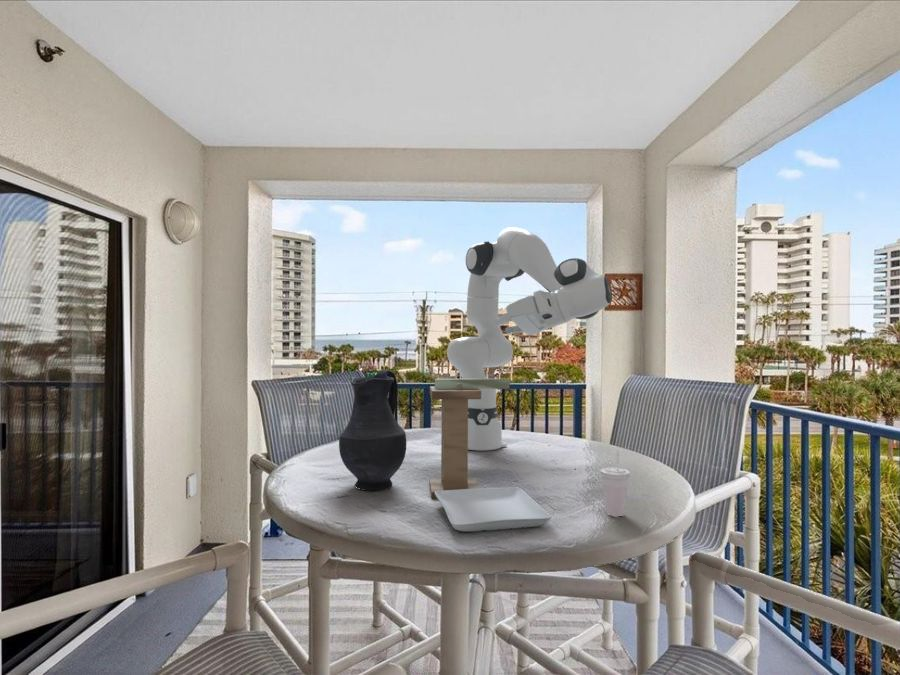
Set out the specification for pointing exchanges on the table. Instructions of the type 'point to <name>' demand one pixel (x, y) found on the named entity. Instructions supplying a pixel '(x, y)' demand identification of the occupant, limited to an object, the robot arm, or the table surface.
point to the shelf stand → (454, 439)
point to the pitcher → (373, 432)
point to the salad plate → (491, 509)
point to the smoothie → (615, 488)
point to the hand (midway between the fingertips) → (501, 327)
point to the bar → (473, 383)
